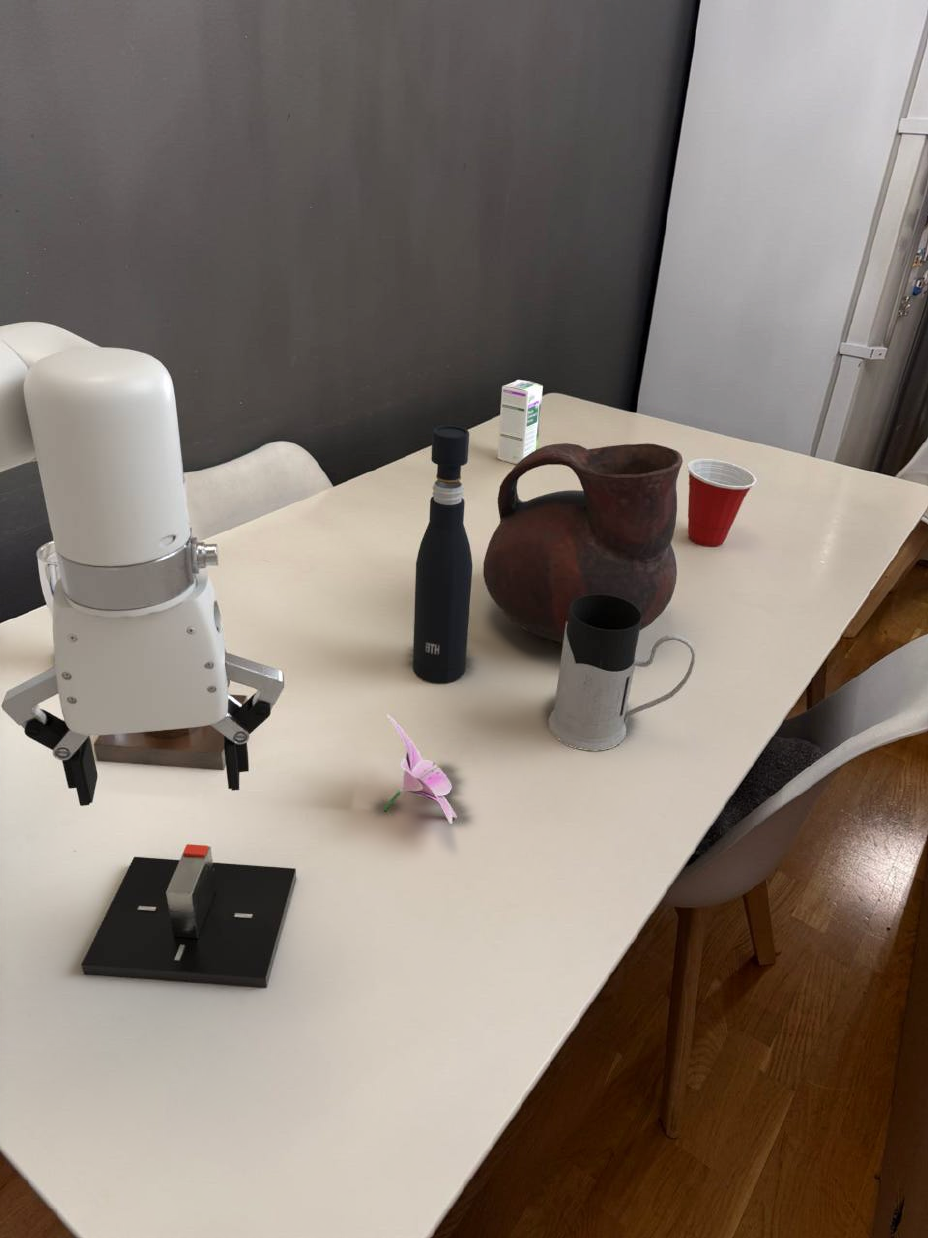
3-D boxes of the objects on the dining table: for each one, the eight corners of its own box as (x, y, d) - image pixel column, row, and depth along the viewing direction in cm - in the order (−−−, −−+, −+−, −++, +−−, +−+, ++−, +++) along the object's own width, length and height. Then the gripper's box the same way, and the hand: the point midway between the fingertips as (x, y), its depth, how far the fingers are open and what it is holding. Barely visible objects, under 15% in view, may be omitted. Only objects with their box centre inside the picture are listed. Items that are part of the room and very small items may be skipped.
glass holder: (556, 696, 104) (572, 584, 96) (678, 723, 101) (704, 610, 93) (540, 740, 97) (556, 623, 89) (671, 770, 93) (698, 652, 86)
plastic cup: (739, 559, 138) (756, 488, 132) (669, 546, 141) (683, 475, 135) (743, 532, 147) (759, 464, 141) (678, 520, 150) (691, 453, 144)
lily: (438, 885, 80) (490, 801, 77) (324, 822, 79) (373, 735, 77) (451, 826, 91) (497, 751, 89) (352, 771, 91) (395, 694, 89)
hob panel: (86, 986, 68) (80, 963, 66) (137, 876, 77) (133, 855, 76) (267, 999, 68) (265, 977, 66) (297, 888, 77) (295, 866, 76)
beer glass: (129, 669, 104) (110, 555, 96) (67, 686, 100) (42, 569, 92) (112, 641, 109) (93, 531, 101) (52, 657, 105) (27, 543, 97)
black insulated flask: (455, 651, 111) (470, 419, 96) (472, 680, 106) (490, 439, 90) (406, 658, 109) (413, 422, 94) (420, 687, 104) (430, 443, 88)
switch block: (96, 761, 90) (90, 730, 88) (132, 703, 98) (127, 673, 96) (223, 770, 90) (220, 739, 88) (248, 711, 98) (246, 681, 96)
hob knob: (198, 939, 69) (191, 892, 66) (172, 937, 69) (164, 890, 66) (216, 889, 73) (210, 843, 71) (192, 888, 73) (185, 842, 71)
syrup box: (522, 466, 167) (529, 390, 160) (495, 459, 170) (501, 384, 163) (536, 458, 172) (544, 384, 164) (510, 451, 174) (517, 378, 167)
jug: (539, 559, 134) (557, 398, 121) (694, 615, 122) (733, 442, 109) (441, 624, 116) (451, 443, 103) (612, 697, 104) (646, 502, 92)
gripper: (274, 532, 57) (287, 739, 66) (-15, 544, 54) (39, 761, 63) (278, 588, 51) (292, 808, 60) (-48, 606, 48) (17, 837, 56)
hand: (163, 784), depth 61 cm, fingers open, 9 cm apart
